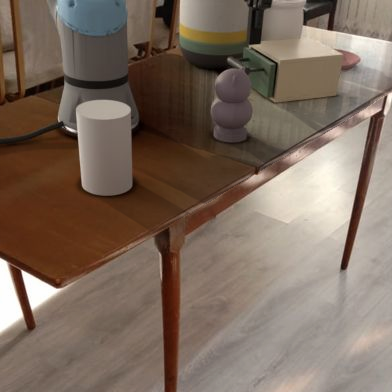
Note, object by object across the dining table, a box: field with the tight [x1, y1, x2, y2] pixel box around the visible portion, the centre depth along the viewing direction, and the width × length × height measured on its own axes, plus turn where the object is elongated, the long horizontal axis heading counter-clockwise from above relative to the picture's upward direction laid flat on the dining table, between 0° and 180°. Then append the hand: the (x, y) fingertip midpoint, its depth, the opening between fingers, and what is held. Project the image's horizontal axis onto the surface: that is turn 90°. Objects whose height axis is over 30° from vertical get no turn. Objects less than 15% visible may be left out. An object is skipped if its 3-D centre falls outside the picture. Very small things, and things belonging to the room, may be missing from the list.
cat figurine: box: [210, 66, 254, 144], centre depth 115 cm, size 8×8×12 cm
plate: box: [333, 48, 362, 72], centre depth 155 cm, size 14×14×2 cm
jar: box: [261, 0, 307, 41], centre depth 149 cm, size 11×10×15 cm
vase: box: [178, 0, 250, 70], centre depth 145 cm, size 17×17×24 cm
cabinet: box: [249, 36, 344, 104], centre depth 138 cm, size 16×14×9 cm
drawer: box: [227, 47, 278, 99], centre depth 136 cm, size 20×12×7 cm, turn 114°
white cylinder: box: [76, 100, 133, 197], centre depth 98 cm, size 8×8×12 cm
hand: (253, 43), depth 131 cm, fingers closed
